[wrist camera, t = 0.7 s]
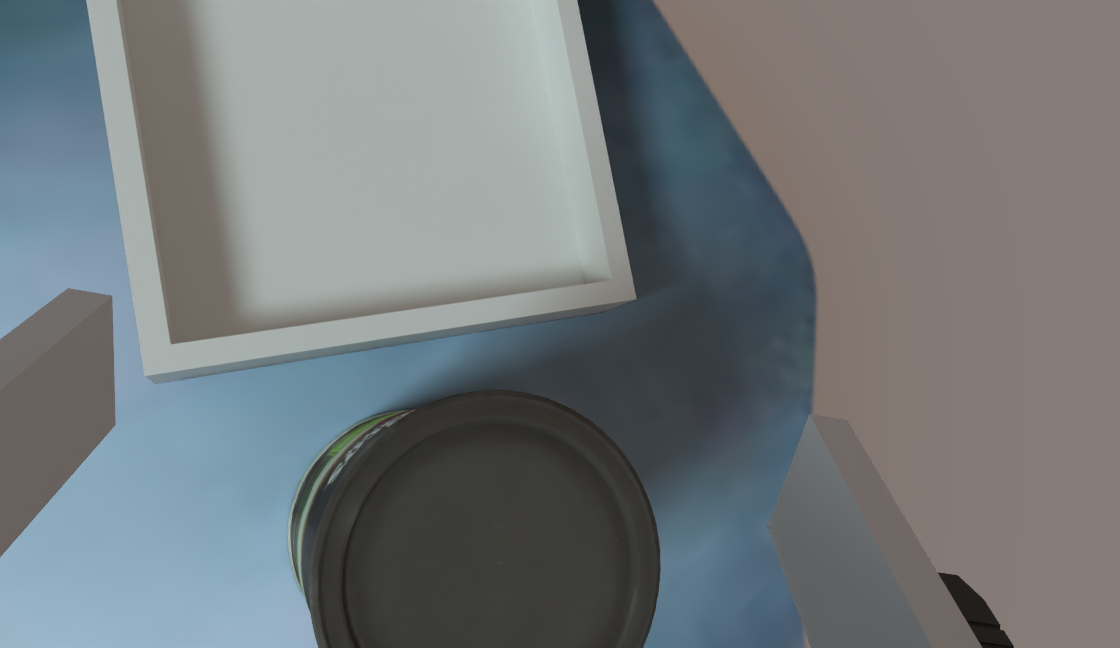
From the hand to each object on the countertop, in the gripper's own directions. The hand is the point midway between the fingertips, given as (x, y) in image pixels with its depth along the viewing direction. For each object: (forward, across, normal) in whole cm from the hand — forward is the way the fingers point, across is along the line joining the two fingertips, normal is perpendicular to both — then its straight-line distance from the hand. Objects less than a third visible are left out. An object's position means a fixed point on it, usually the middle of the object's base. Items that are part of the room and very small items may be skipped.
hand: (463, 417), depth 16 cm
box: (+25, -7, -1) cm, 26 cm away
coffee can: (+16, -2, -16) cm, 23 cm away
